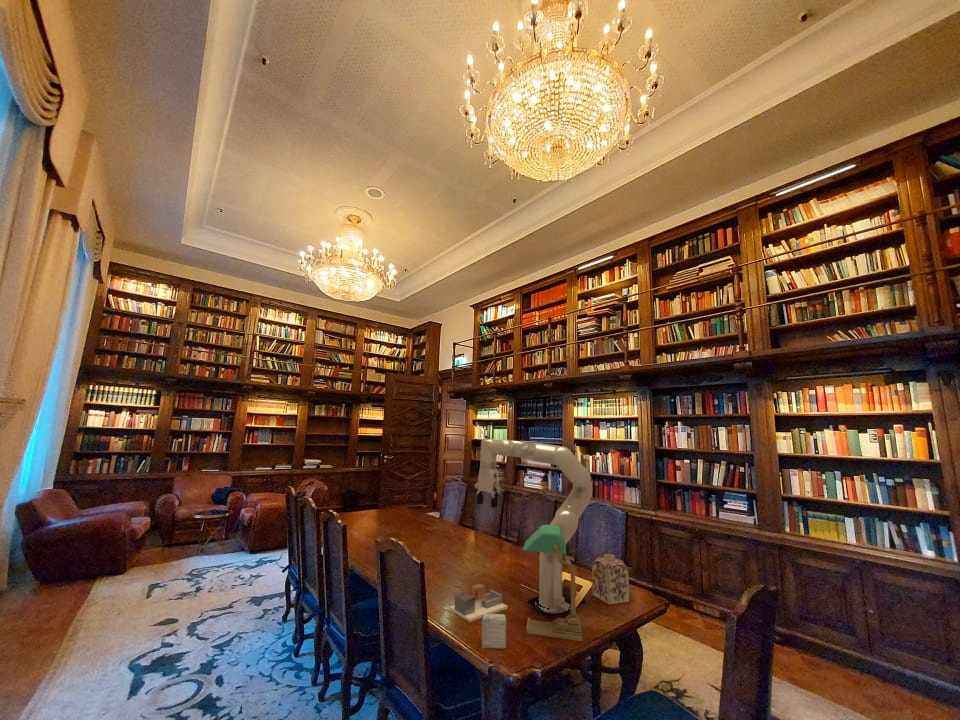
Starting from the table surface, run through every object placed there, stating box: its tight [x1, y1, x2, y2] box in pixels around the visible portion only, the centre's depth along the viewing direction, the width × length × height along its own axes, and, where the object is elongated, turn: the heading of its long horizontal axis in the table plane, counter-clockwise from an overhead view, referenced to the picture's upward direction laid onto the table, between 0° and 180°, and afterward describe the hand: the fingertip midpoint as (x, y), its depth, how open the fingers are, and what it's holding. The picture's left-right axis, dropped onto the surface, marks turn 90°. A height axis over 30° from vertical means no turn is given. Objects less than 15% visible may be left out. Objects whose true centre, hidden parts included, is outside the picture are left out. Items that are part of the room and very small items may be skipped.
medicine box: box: [481, 613, 507, 649], centre depth 126 cm, size 8×4×9 cm, turn 92°
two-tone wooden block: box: [471, 583, 486, 609], centre depth 151 cm, size 3×11×7 cm, turn 131°
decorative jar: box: [591, 553, 630, 606], centre depth 170 cm, size 12×12×18 cm
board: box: [449, 589, 508, 623], centre depth 153 cm, size 13×20×4 cm, turn 131°
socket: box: [454, 592, 475, 616], centre depth 148 cm, size 7×5×5 cm
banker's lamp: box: [522, 524, 583, 642], centre depth 140 cm, size 16×21×35 cm
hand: (486, 505), depth 170 cm, fingers open, 9 cm apart
